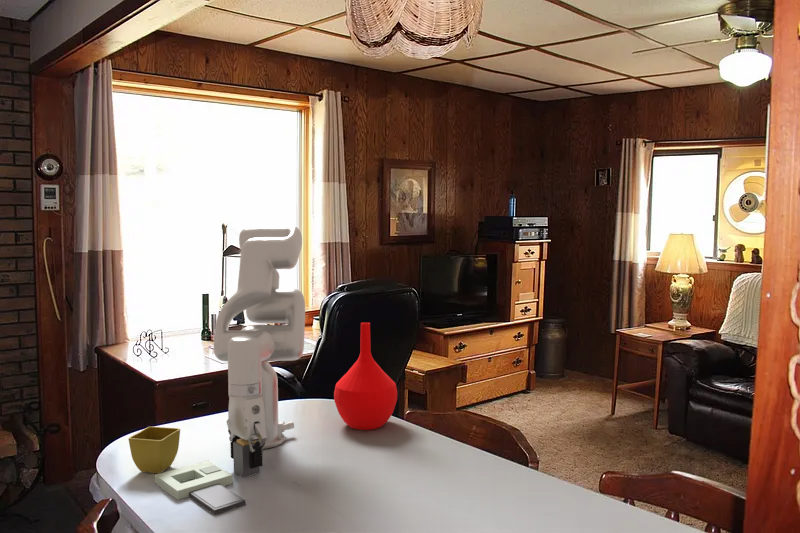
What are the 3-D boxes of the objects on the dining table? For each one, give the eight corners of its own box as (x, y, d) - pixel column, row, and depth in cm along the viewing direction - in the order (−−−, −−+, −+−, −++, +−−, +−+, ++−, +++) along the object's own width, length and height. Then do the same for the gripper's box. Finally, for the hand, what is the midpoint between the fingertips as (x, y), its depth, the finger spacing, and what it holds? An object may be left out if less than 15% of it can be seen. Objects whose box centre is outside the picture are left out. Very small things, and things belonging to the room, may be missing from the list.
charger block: (250, 467, 160) (249, 435, 159) (259, 472, 157) (259, 439, 156) (233, 472, 157) (233, 439, 156) (243, 477, 154) (242, 444, 153)
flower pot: (162, 478, 154) (161, 440, 153) (128, 475, 155) (127, 437, 155) (182, 464, 162) (181, 428, 161) (150, 461, 164) (148, 426, 163)
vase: (334, 416, 200) (333, 318, 198) (394, 414, 202) (393, 317, 200) (334, 436, 182) (333, 329, 180) (400, 434, 184) (400, 327, 182)
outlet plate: (208, 468, 159) (208, 459, 159) (232, 483, 150) (232, 473, 150) (155, 483, 151) (154, 473, 150) (177, 499, 142) (177, 489, 142)
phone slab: (218, 487, 148) (218, 482, 148) (245, 504, 139) (245, 499, 139) (188, 496, 143) (188, 491, 143) (214, 515, 135) (214, 509, 134)
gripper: (278, 393, 151) (280, 468, 152) (241, 379, 164) (242, 448, 165) (249, 399, 146) (251, 476, 147) (212, 385, 159) (214, 456, 160)
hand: (246, 461), depth 156 cm, fingers open, 8 cm apart
